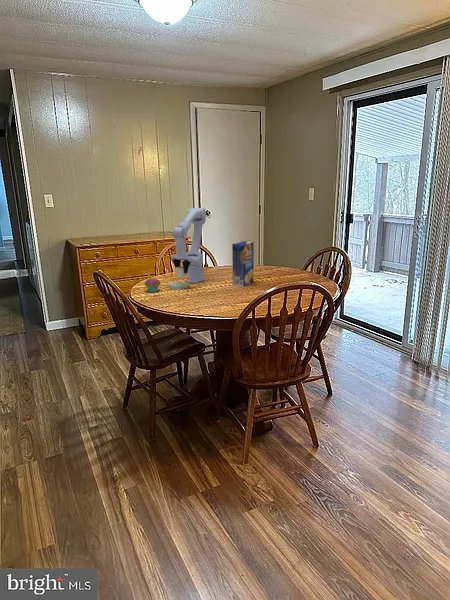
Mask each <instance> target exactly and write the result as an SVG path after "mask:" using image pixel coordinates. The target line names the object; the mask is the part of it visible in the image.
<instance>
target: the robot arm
mask: <svg viewBox="0 0 450 600" xmlns="http://www.w3.org/2000/svg"><path fill="white" fill-rule="evenodd" d="M206 218H207V211H206V209H205V207H199V208H198V207H196V208H194V207H189V208H188V210H187V216H186V218H185V219H182V220H181V222H180V223H179V224H178V226H176V227H174V228H173V230H172V236H173V239H174V241H175V242H174V243H175V244H174V245H175V255H174V254H173V255H170V260H172V264H173V265H174V267H175V269H176V267H180V266H183V269H184V274H186V273H187V272H188V276H187V277H188V279H187V280H185V283H193V284H197V283H200V282H204V281H206V279H205V274H204V273H205V272H204V267H203V261H204V260H203V259H204V257H203V254H202V253H201V252H200V247H201V239H202V232H203V227H204V224H206ZM192 224H193V225H194V226H193V231H192V232H193V234H192V238H191V244H190V245H191V247H190V250H189V251H187V241H186V239H187V236H188V232H189V229H190V228H191V227H192Z"/></svg>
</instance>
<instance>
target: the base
mask: <svg viewBox="0 0 450 600" xmlns="http://www.w3.org/2000/svg"><path fill="white" fill-rule="evenodd" d="M189 287H190V282H184V281H174V282H170V283H167V284H166V288H167V289H172V290H175V291H181V290H183V289H187V288H189Z"/></svg>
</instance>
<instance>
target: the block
mask: <svg viewBox="0 0 450 600" xmlns="http://www.w3.org/2000/svg"><path fill="white" fill-rule="evenodd" d="M175 277H180V278H185V277H188V272H187V273H186V274H184V269H183V265H180V267H176V268H175Z"/></svg>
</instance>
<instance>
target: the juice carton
mask: <svg viewBox="0 0 450 600" xmlns="http://www.w3.org/2000/svg"><path fill="white" fill-rule="evenodd" d="M231 246H232V249H231V250H232V254H231V255H232V285H233V286H237V287H246V286H249V285H251V284H253V283H254V276H255V275H254V267H255V266H254V258H255V257H254V256H255V255H254V248H255V247H254V241H246V240H245V241H243V240H242V241H238V242H235V243H232V245H231Z"/></svg>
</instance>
